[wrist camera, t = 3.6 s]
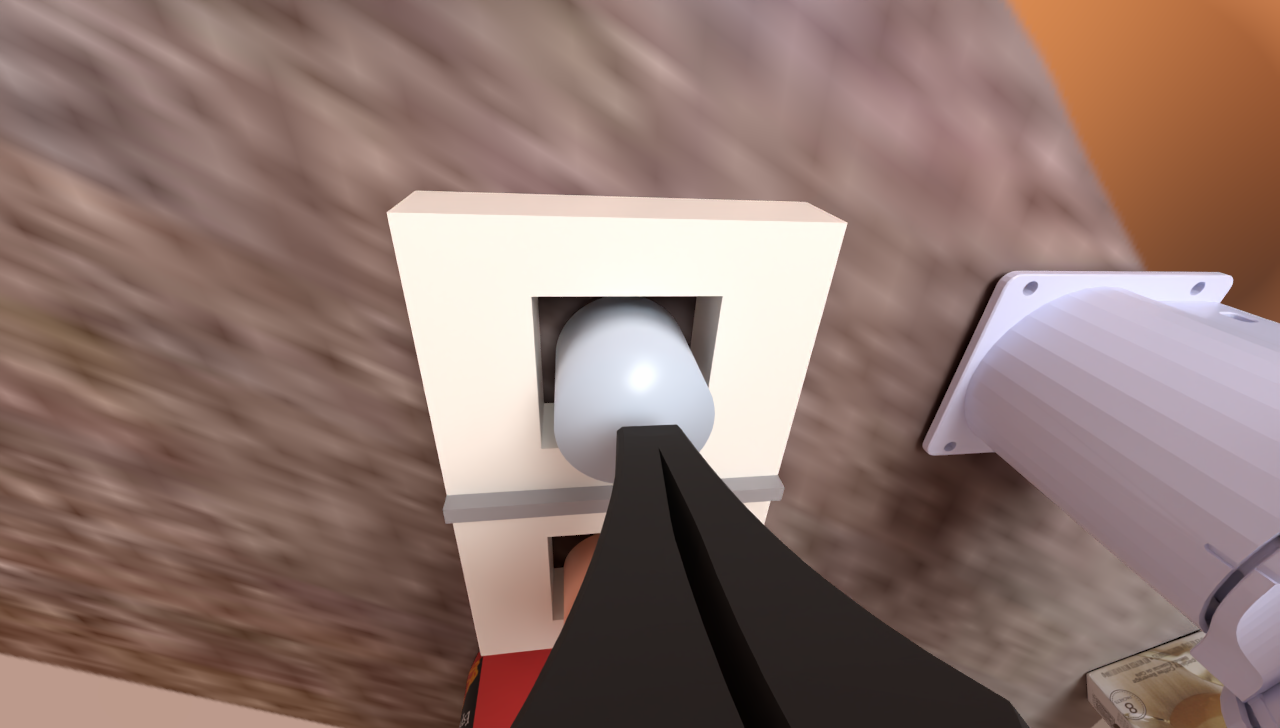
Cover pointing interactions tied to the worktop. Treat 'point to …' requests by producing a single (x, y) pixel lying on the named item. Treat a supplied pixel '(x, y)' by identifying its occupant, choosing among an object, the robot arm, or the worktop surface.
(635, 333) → the pale blue rounded piece
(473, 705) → the canned food
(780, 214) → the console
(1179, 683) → the coffee box
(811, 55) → the worktop surface
